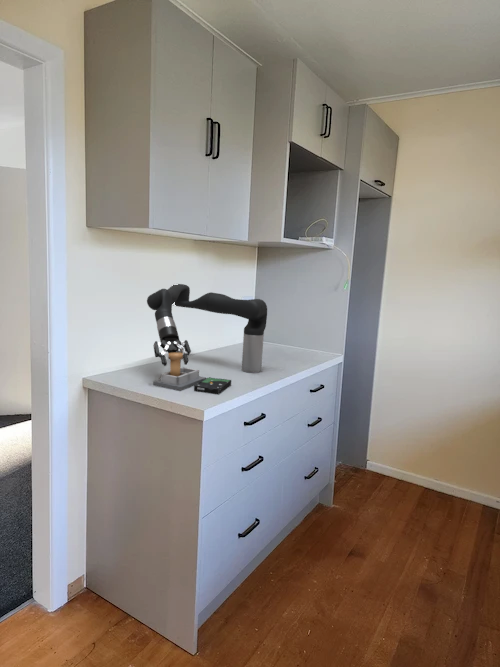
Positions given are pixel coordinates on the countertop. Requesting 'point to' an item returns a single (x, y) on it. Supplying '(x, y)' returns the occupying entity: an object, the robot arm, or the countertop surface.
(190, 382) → the box
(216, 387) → the disk drive
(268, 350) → the countertop surface
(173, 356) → the ball-topped knob
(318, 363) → the countertop surface
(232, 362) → the countertop surface
